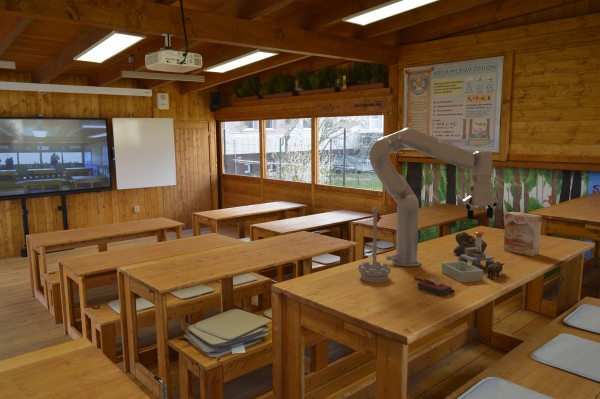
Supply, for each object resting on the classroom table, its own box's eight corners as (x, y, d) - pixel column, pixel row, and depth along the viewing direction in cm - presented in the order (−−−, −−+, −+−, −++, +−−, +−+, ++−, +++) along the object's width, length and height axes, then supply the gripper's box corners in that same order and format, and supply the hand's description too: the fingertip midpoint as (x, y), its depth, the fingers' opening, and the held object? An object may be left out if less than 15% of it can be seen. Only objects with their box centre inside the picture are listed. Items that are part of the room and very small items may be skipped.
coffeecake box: (503, 250, 238) (505, 212, 235) (510, 248, 242) (512, 211, 239) (532, 256, 226) (535, 216, 223) (539, 254, 230) (542, 215, 227)
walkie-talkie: (458, 293, 176) (415, 280, 192) (459, 282, 176) (416, 270, 191) (444, 298, 171) (401, 285, 187) (444, 287, 170) (401, 274, 186)
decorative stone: (485, 248, 220) (455, 233, 225) (475, 267, 224) (446, 252, 229) (490, 239, 233) (461, 225, 239) (480, 257, 237) (452, 244, 243)
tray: (460, 282, 188) (461, 272, 188) (441, 272, 202) (441, 263, 201) (482, 280, 191) (483, 270, 190) (462, 270, 204) (462, 261, 204)
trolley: (474, 272, 201) (475, 254, 200) (456, 263, 215) (457, 246, 214) (497, 270, 204) (497, 252, 203) (477, 261, 217) (478, 245, 216)
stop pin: (477, 257, 205) (478, 233, 204) (472, 255, 209) (473, 231, 207) (484, 257, 206) (485, 232, 205) (479, 255, 210) (480, 231, 208)
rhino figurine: (507, 273, 200) (508, 259, 199) (494, 280, 190) (495, 266, 189) (497, 271, 203) (498, 258, 202) (484, 278, 193) (484, 264, 192)
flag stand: (379, 285, 186) (380, 210, 182) (352, 278, 194) (352, 207, 190) (396, 277, 196) (397, 206, 191) (369, 271, 204) (370, 203, 200)
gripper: (469, 180, 197) (467, 220, 200) (504, 179, 202) (502, 218, 204) (459, 179, 204) (457, 217, 207) (493, 178, 209) (491, 215, 211)
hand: (479, 218), depth 206 cm, fingers open, 9 cm apart
